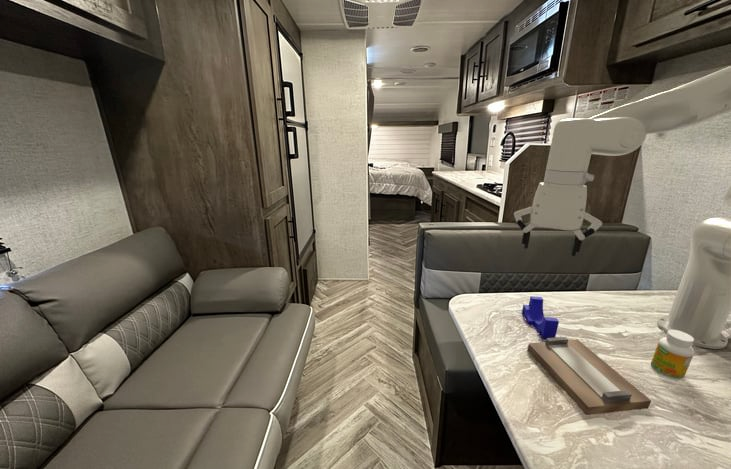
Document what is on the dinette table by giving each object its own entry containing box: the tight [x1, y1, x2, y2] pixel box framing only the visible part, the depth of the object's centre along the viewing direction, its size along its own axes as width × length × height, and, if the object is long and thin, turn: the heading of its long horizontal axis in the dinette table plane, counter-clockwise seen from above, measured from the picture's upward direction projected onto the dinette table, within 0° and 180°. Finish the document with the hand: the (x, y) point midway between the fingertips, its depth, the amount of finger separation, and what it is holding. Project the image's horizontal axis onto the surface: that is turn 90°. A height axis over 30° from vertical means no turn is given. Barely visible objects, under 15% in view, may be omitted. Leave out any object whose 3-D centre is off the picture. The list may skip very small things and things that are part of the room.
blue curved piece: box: [521, 295, 560, 340], centre depth 81 cm, size 12×4×6 cm, turn 169°
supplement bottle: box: [650, 330, 695, 381], centre depth 64 cm, size 5×5×10 cm
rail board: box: [527, 336, 652, 416], centre depth 64 cm, size 13×18×4 cm
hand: (548, 250), depth 70 cm, fingers open, 9 cm apart
